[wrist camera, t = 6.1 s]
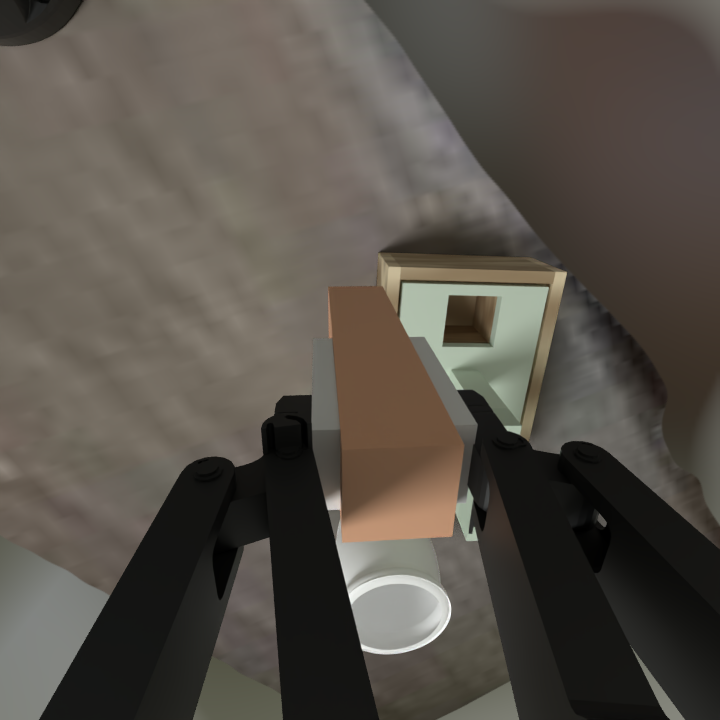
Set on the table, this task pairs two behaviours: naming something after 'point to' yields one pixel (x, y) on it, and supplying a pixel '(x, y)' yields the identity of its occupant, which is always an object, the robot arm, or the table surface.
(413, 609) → the jar
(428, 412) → the key peg
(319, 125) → the table surface
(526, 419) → the wooden box
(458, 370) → the lid
